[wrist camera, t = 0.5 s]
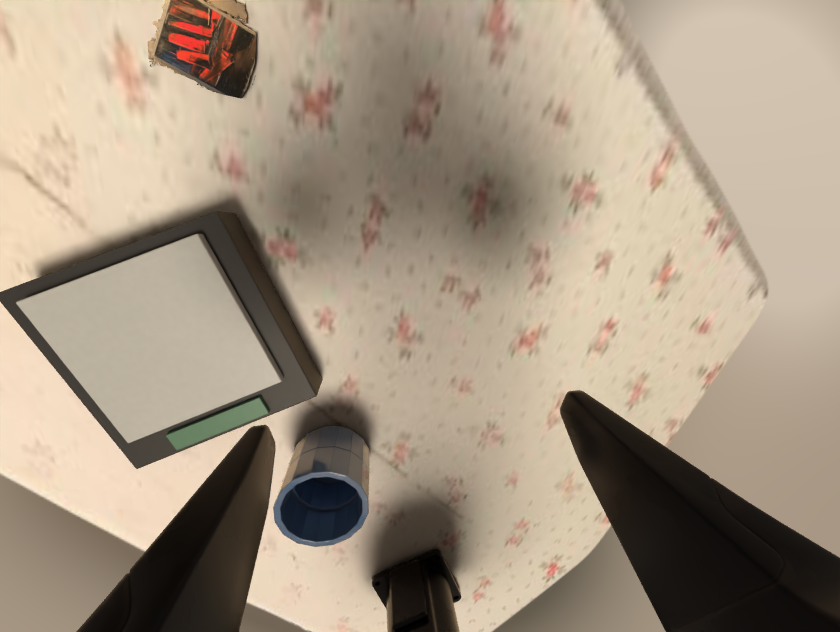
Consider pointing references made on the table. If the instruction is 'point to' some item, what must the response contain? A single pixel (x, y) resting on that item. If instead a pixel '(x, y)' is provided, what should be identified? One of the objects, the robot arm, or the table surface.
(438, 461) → the table surface
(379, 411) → the table surface
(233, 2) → the red black picture tile
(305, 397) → the kitchen scale
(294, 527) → the small cup
